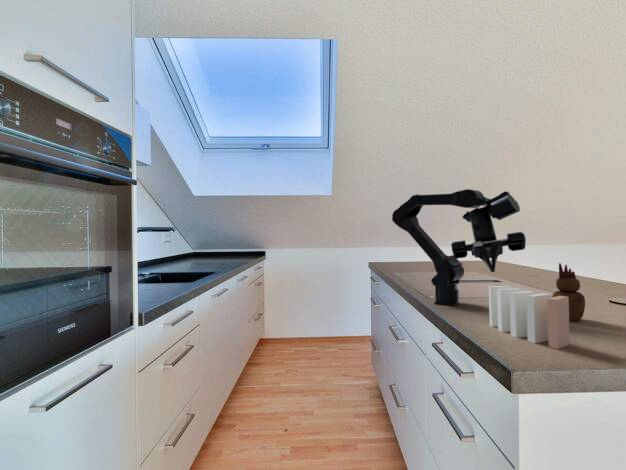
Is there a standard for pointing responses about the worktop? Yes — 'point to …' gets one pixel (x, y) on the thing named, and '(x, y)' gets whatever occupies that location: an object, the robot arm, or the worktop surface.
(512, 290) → the domino
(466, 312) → the worktop surface
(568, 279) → the wooden figurine
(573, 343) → the worktop surface
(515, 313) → the domino
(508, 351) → the worktop surface
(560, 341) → the domino
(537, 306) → the domino
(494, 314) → the domino
